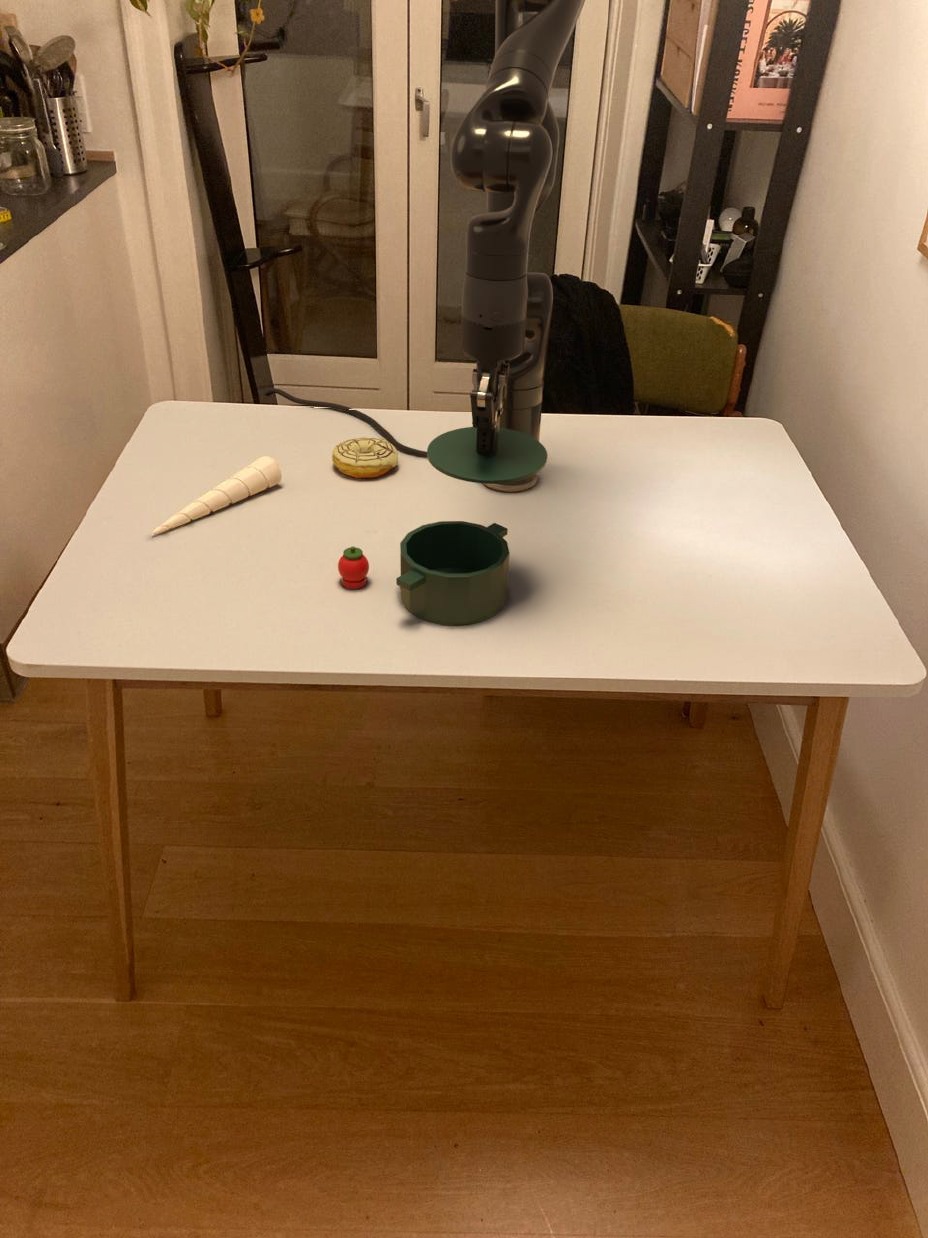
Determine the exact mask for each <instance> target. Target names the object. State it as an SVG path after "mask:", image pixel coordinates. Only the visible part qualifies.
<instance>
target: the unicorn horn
mask: <svg viewBox="0 0 928 1238" xmlns="http://www.w3.org/2000/svg"><path fill="white" fill-rule="evenodd" d="M281 481H282V470H281V468H280V466H279V464H278V463H277V461H276V460H275V459H274V458H272V457H270V456H266V455H264V456H261V457H259V458H257V459H256V460H255V461H253V462H252V463H250V464H249V465H247V466H245V467H244V468H242V469H241V470H239V471H237V472H236V473H235V474H233V475H232V476H230V477H229V478H228V479H226V480H224V481H222V482H221V483H220V484H218V485H216V486H215V487H213V488H212V489H210V491H207V492H206V493H204V494H203V495H201V496H200V497H198V498H197V499H196V500H194V501H193V502H191V503H189V504H188V505H187V506H185V507H184V508H182V509H181V510H179V511H178V512H176V513H175V514H174V515H172V516H171V517H169V518H168V519H167V520H165V521H164V522H163V523H161V524H160V525H158V527H157V528H155V529H154V530H153V531H152V532H151V533H150V535H151V536H152V535H158V534H162V533H164V532H167V531H169V530H171V529H175V528H178V527H179V526H182V525H186V524H187V523H189V522H191V520H193V521H194V520H198V519H199V518H203V517H204V516H207V515H209V514H211V512H212V513H214V512H216V511H219V510H221V509H223V508H226V507H228V506H230V504H231V505H233V504H236V503H237V502H240V501H243V500H244V499H247V498H248V497H251V496H254V495H256V494H258V493H261V492H263V491H265V490H267V489H270V488H272V487H275V486H276V485H279V484H280V483H281Z"/></svg>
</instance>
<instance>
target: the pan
mask: <svg viewBox="0 0 928 1238" xmlns="http://www.w3.org/2000/svg"><path fill="white" fill-rule="evenodd" d="M508 531H509V528H508V527H506V526H503V525H501V524H498V523H496V522H493V523H491V524H489V525H488V526H485V525H483V524H480V523H476V522H475V523H474V522H469V521H464V520H441V521H436V522H431V523H427V524H422V525H420V526H418V527H416V528H415V529H413V530H411V531H409V532H407V533H406V535H405V536H404V538H402V539H401V542H400V545H399V546H400V547H399V549H400V551H399V552H400V553H399V556H400V557H399V558H400V559H399V561H400V562H399V563H400V565H399V566H400V575H399V576H397V577H396V585H397V586H398V587H400V598H401V602H402V604H403V606H404V607H405V608H406V609H407V611H408V612H409V613H411V614H412V615H414V616H416V617H417V618H419V619H421V620H423V621H426V622H430V623H434V624H438V625H442V626H443V625H444V626H466V625H472V624H473V625H474V624H478V623H481V622H483V621H486V620H488V619H490V618H492V617H494V616H495V615H496V614H498V613H499V612H500V611H501V610H502V609H503V607H504V606H505V602H506V599H507V597H508V583H509V582H508V581H509V568H510V567H509V565H510V548H509V544H508V543H509V542H508V541H507V540H506V539H505V538H504V537H506V536H507V535H508V534H509V533H508Z"/></svg>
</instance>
